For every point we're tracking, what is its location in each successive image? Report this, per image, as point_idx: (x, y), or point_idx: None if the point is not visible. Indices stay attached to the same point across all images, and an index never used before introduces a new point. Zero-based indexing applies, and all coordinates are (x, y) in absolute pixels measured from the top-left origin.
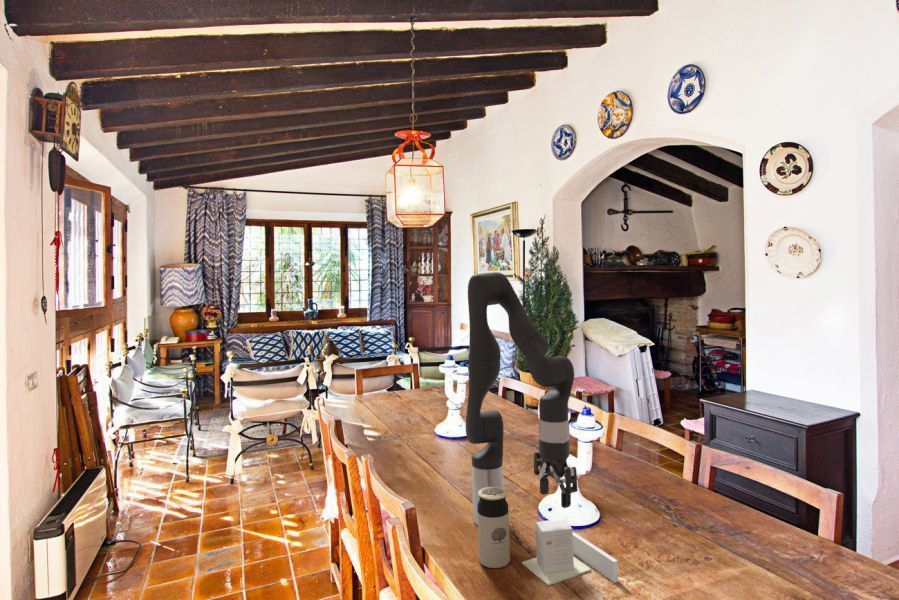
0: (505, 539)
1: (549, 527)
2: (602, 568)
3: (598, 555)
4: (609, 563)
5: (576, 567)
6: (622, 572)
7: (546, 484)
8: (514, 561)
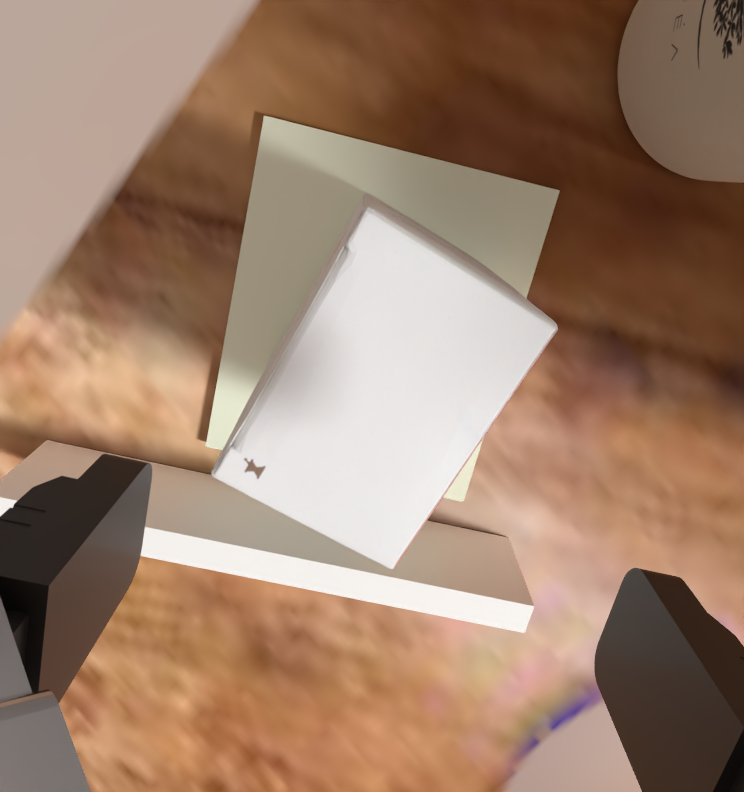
0: (703, 39)
1: (371, 332)
2: None
3: None
4: None
5: None
6: None
7: (655, 746)
8: (612, 171)
